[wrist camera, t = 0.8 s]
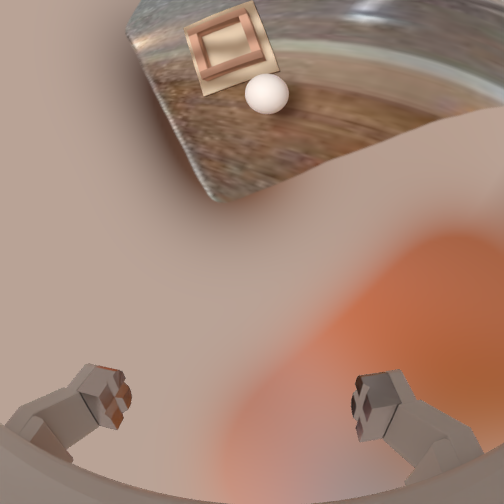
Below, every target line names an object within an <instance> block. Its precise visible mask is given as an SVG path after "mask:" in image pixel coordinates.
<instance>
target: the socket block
mask: <svg viewBox="0 0 504 504" xmlns="http://www.w3.org/2000/svg"><path fill="white" fill-rule="evenodd" d="M183 29H184V32H185V36H186V39H187V42H188V46H189V49H190V52H191V55H192V59H193V62H194V65H195V69H196V72H197V75H198V79H199V82H200V85H201V89H202V92H203V95H204V97H206V96H208V95H211V94H213V93H216V92H218V91H221V90H224V89H227V88H229V87H232V86H235V85H238V84H241V83H244V82H247V81H250V80H251V79H252V78H254V77H255V76H258V75H260V74H273V73H276V72H280V71H279V68H278V65H277V62H276V59H275V56H274V54H273V51H272V48H271V45H270V43H269V40H268V37H267V35H266V32H265V29H264V27H263V24H262V22H261V19H260V17H259V14H258V12H257V9H256V7H255V5H254V2H253V1H249V2H246V3H243V4H240V5H238V6H235V7H232V8H229V9H227V10H224V11H221V12H219V13H216V14H214V15H212V16H209V17H207V18H204V19H202V20H200V21H198V22H196V23H193V24H191V25H189V26H187V27H185V28H183Z"/></svg>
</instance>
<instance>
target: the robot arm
mask: <svg viewBox="0 0 504 504" xmlns="http://www.w3.org/2000/svg"><path fill="white" fill-rule="evenodd" d="M124 380H125V376H124V374H123V372H122V371H120V370H117V369H112V368H107V367H103V366H97V365H93V364H86V365H84V367H83V368H82V369H81V371H80V372H79V373H78V374H77V375H76V377H75V378H74V379H73V380H72V382H71V383H70V384H69V385H68V387H67V388H61V389H59V390H57V391H54V392H52V393H50V394H48V395H46V396H43V397H41V398H39V399H37V400H34V401H32V402H30V403H27V404H25V405H23V406H21V407H19V408H18V410H17V411H16V412H15V413H14V415H13V416H12V417H11V418H10V419H9V421H8V422H7V423H6V424H5V426H4V425H2V424H1V423H0V504H226V503H215V502H207V501H200V500H193V499H187V498H181V497H176V496H171V495H166V494H162V493H157V492H153V491H149V490H145V489H142V488H138V487H134V486H131V485H128V484H125V483H121V482H118V481H115V480H112V479H109V478H106V477H104V476H101V475H98V474H96V473H93V472H91V471H88V470H86V469H83V468H81V467H79V466H76V465H74V464H72V462H73V457H72V456H71V455H70V454H69V453H68V451H67V450H66V449H68V448H69V447H71V446H72V445H73V444H75V443H76V442H78V441H79V440H81V439H82V438H83V437H85V436H86V435H88V434H89V433H91V432H92V431H94V430H95V429H96V428H98V427H99V426H103V427H106V428H110V429H115V430H118V428H119V426H120V424H121V422H122V421H123V418H124V417H123V412H125V411H127V410H128V409H129V407H130V405H131V399H132V394H131V390H130V388H129V386H128V385H127V384H126V383H125V382H124ZM355 385H356V388H357V390H356V391H355V392H354V393H353V396H352V399H351V410H352V415H353V418H354V419H355V420H357V421H358V422H357V425H356V431H357V435H358V439H359V442H364V441H371V440H377V439H382V438H383V440H384V441H385V442H386V443H387V444H388V445H389V446H390V447H392V448H393V449H394V450H395V451H396V452H397V453H398V454H399V455H401V456H402V457H403V458H404V459H405V460H406V461H407V462H408V463H410V464H411V465H412V466H413V467H414V468H415V469H414V470H413V471H412V473H411V474H410V475H409V476H408V477H407V479H406V480H405V485H406V486H403V487H400V488H396V489H393V490H389V491H385V492H381V493H377V494H372V495H367V496H362V497H358V498H351V499H345V500H339V501H331V502H323V503H313V504H504V443H503V444H501V445H499V446H498V447H496V448H494V449H492V450H490V451H489V452H487V453H485V454H484V452H483V450H482V448H481V446H480V445H479V443H478V441H477V439H476V437H475V435H474V434H473V431H472V430H471V428H470V427H469V426H467V425H465V424H463V423H461V422H459V421H457V420H455V419H454V418H452V417H450V416H448V415H447V414H445V413H443V412H441V411H440V410H438V409H436V408H434V407H433V406H431V405H429V404H427V403H426V402H424V401H422V400H416V398H415V396H414V394H413V392H412V390H411V388H410V386H409V384H408V382H407V380H406V379H405V377H404V375H403V373H402V371H401V370H400V369H397V370H392V371H386V372H380V373H373V374H366V375H359V376H358V377H357V379H356V382H355ZM98 425H99V426H98Z"/></svg>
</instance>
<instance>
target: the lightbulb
mask: <svg viewBox="0 0 504 504" xmlns="http://www.w3.org/2000/svg"><path fill="white" fill-rule="evenodd" d="M245 97H246V101H247V103H248V104H249V106H250V107H251V108H252V109H253V110H255V111H256V112H259V113H262V114H273V113H276V112H278V111H280V110H281V109H282V108H283V107H284V106H285V105H286V103H287V101H288V98H289V90H288V87H287V85H286V83H285V82H284V81H283V80H282V79H281V78H280V77H278V76H276V75H273V74H260V75H258V76H255V77H254V78H252V79H251V80H250V81H249V83H248V84H247V86H246V90H245Z"/></svg>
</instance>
